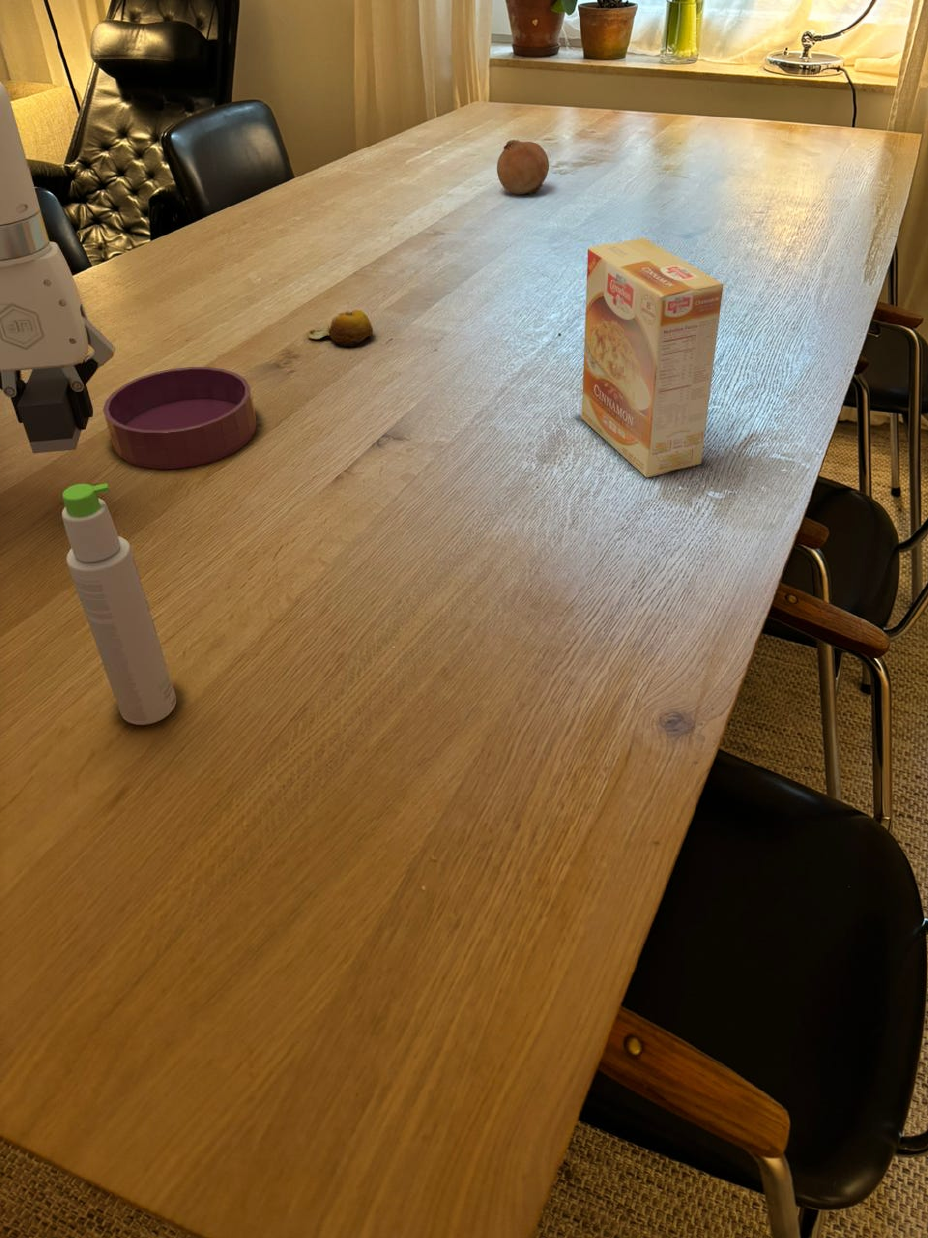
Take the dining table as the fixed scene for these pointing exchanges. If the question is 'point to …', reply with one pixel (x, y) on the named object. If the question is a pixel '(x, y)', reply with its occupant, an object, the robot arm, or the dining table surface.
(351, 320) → the fruit
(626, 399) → the coffeecake box
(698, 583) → the dining table surface
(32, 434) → the eraser
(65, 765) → the dining table surface
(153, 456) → the bowl
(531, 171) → the onion
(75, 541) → the bottle
